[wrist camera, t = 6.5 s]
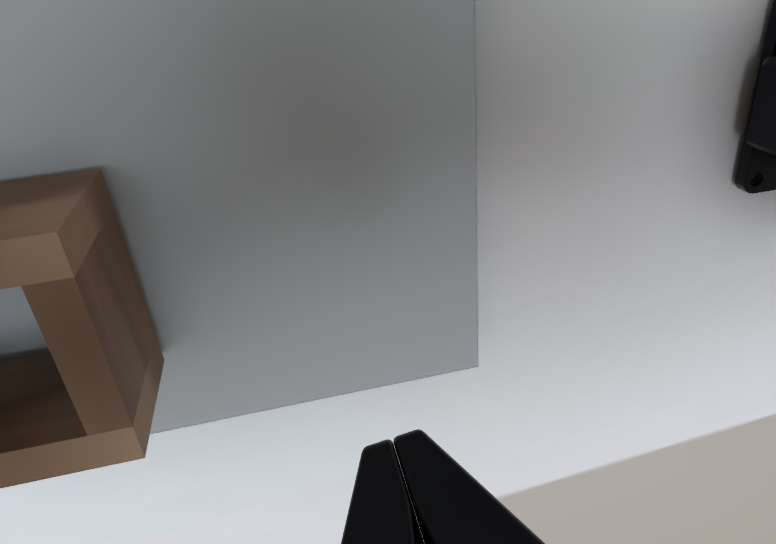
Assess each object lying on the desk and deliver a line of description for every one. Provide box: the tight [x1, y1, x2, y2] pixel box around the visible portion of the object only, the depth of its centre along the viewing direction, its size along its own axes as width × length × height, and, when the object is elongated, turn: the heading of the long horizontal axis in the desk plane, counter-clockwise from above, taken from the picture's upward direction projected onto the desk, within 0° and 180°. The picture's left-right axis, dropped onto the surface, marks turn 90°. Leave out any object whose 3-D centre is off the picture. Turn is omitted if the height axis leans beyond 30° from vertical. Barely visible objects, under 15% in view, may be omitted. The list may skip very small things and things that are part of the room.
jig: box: [0, 0, 478, 434], centre depth 14 cm, size 18×18×4 cm
